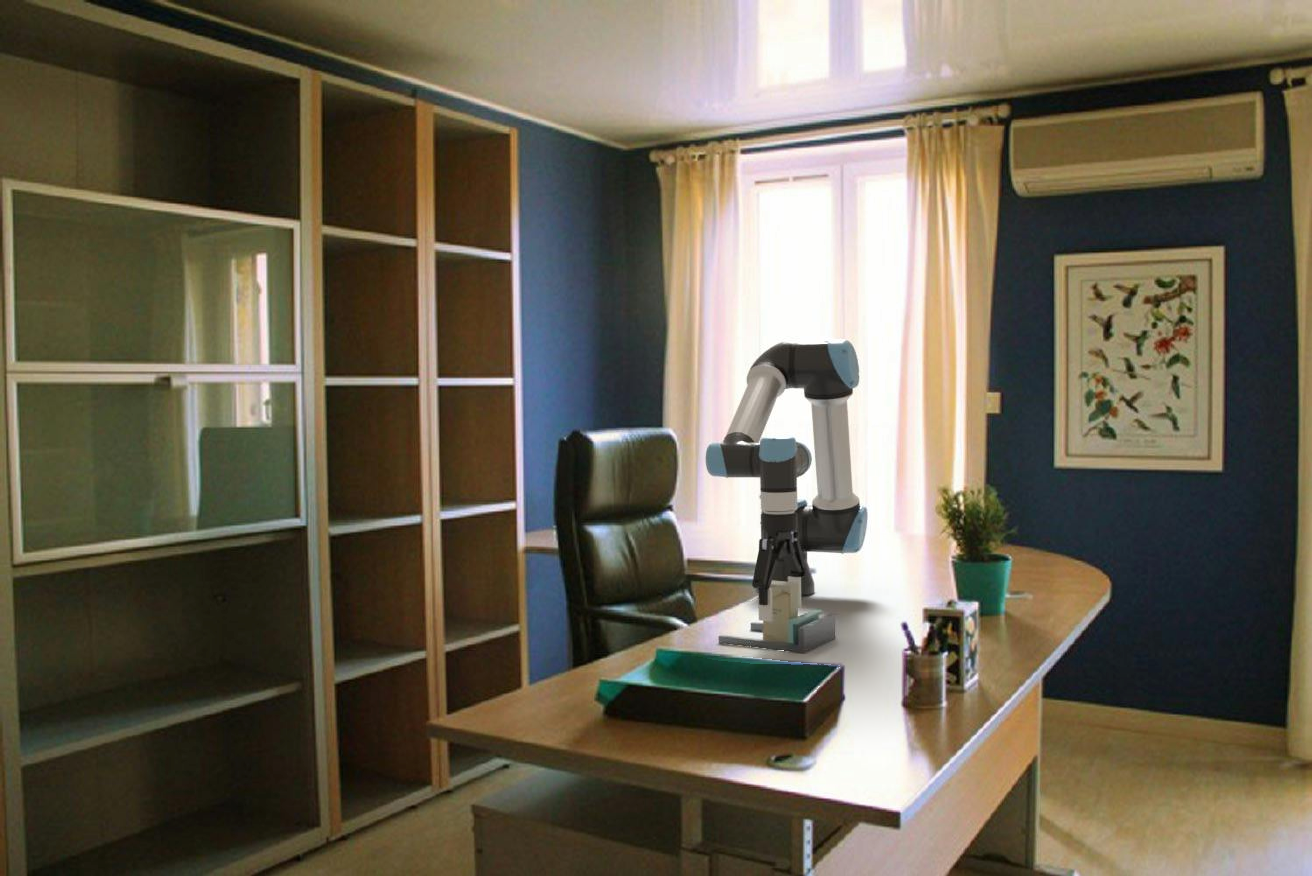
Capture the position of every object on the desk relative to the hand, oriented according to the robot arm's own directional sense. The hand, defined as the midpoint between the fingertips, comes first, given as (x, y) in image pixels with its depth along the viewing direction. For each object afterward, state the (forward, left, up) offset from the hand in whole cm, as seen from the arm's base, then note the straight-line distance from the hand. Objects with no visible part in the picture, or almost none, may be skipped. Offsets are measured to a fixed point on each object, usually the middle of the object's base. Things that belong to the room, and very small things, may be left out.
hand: (780, 614), depth 232 cm
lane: (0, -1, -5) cm, 6 cm away
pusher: (0, +5, -5) cm, 8 cm away
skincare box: (0, 0, -6) cm, 6 cm away
